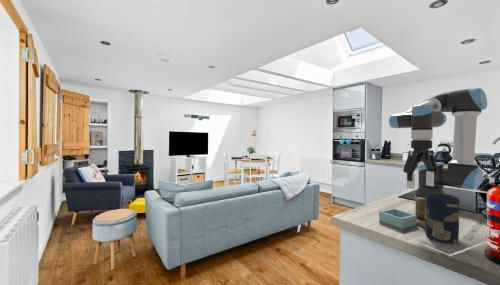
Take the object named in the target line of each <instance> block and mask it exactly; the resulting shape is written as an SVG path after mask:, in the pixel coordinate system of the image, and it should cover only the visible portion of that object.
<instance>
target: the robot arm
mask: <svg viewBox="0 0 500 285" xmlns="http://www.w3.org/2000/svg"><path fill="white" fill-rule="evenodd" d="M487 108H488V99H487V95H486V93H485V90H483V88H480V87H476V88H466V89H465V88H464V89H460V90H459V89H458V90H452V91H445V92H441V93H438V94H436V95H433V96H431V97H428V98H426V99H424V100H423V101H422V103H420V104H417V105H414V106H412V107H411V108H409V109H408V110H405V111H404V112H401V113H396V114H395V113H394V114H391V115H390V116H389V119H388V124H389V127H390V128H392V129H411V132H410V139H411V141H410V148H411V149H413V150H408V155H407V158H406V161H405V164H404V166H403V170H402V171H403V173H405V174H406V188H407V189H411V190H415V189H416V188H415V187H416V186H415V183H416V182H415V181H416V179H415V178H416V174H415V170H416V169H417V167H418V186H417V189H416V191H415V194H414V200H415V201H416V197H419V198H425V199H426V195H427V194H429V193H436V192H441V193H444V194H446V192H445V190H444V189H445V187H450V188H456V189H457V188H458V189H462V190H471V191H474V190H477V188H479V187H480V185H481V183H482V181H483V176H484V173H483V169H482V168H479V165H478V163H477V162H475V154H476V153H475V152H476V139H477V138H476V136H477V135H476V134H477V125H478V124H477V122H478V121H477V120H478V117H479V116H480V115H481V114H482V111H485V110H486V109H487ZM445 113H451V115H452V116H453V117H454V126H453V140H452V141H453V142H452V157H451V160H450V161H448V162H447V165H445V163H444V162H441V161H440V162H437V161H436V159H435V155H434V150H432V148H433V141H432V139H433V134H434V133H433V132H434V131H433V128H440V127H442V126H444V125H445V124H446V122H447V116H446V114H445ZM420 162H422V163H420ZM419 163H420V164H419Z"/></svg>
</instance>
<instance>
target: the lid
mask: <svg viewBox="0 0 500 285" xmlns="http://www.w3.org/2000/svg"><path fill="white" fill-rule="evenodd" d="M411 214H414V215H417V225H418V227H420V226H421V227H420V228H423V227H424V229H426V199H425V198H419V197H416V200H415V212H411Z"/></svg>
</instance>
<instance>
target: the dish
mask: <svg viewBox="0 0 500 285" xmlns="http://www.w3.org/2000/svg"><path fill="white" fill-rule="evenodd" d="M411 213H412V212H411ZM411 213H410V212H407V211H403V210H400V209H397V208H388V209H384V210H379V211H378V219H379V220H378V221H379V222H381V223H384V224H386V225H389V226H392V227H394V228H397V229H399V230H405V229H408V228H412V227H413V228H414V227H416V226H417V215H414V214H411Z"/></svg>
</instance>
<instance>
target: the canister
mask: <svg viewBox="0 0 500 285" xmlns="http://www.w3.org/2000/svg"><path fill="white" fill-rule="evenodd" d="M424 232H425V235H426V237H428V238H429V239H430V240H433V241H435V242H439V243H442V244H443V243H444V244H456V243H458V242H459V235H460V199H459V198H458V196H455V195H452V194H448V193H445V194H444V193H441V192H436V193H429V194H427V195H426V228H425V229H424Z"/></svg>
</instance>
